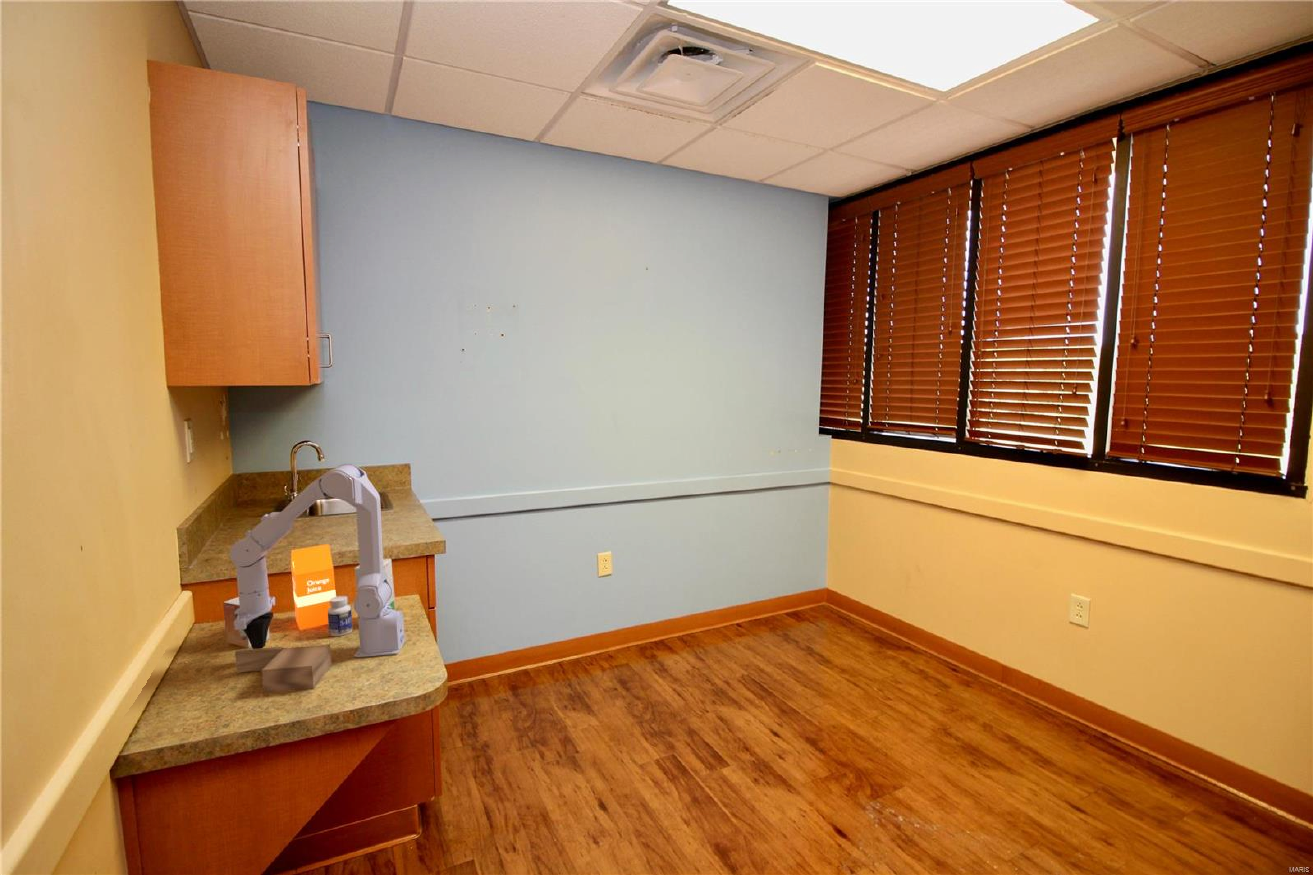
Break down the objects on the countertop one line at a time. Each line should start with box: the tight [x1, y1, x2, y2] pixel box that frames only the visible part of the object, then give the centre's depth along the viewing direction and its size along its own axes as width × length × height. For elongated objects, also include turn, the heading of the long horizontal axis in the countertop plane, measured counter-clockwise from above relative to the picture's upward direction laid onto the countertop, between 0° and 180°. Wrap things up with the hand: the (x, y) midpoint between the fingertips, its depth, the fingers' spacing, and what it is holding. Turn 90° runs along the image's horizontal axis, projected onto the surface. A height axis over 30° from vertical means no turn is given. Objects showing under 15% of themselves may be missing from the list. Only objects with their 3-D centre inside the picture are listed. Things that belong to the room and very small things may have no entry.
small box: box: [222, 596, 271, 649], centre depth 151 cm, size 8×6×10 cm
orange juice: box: [290, 544, 337, 631], centre depth 162 cm, size 8×9×20 cm
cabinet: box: [261, 644, 332, 694], centre depth 132 cm, size 10×10×5 cm
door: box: [234, 646, 284, 673], centre depth 136 cm, size 1×10×5 cm, turn 99°
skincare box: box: [354, 558, 396, 610], centre depth 162 cm, size 8×7×16 cm
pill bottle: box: [327, 595, 353, 637], centre depth 155 cm, size 5×5×9 cm
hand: (258, 647), depth 141 cm, fingers closed
